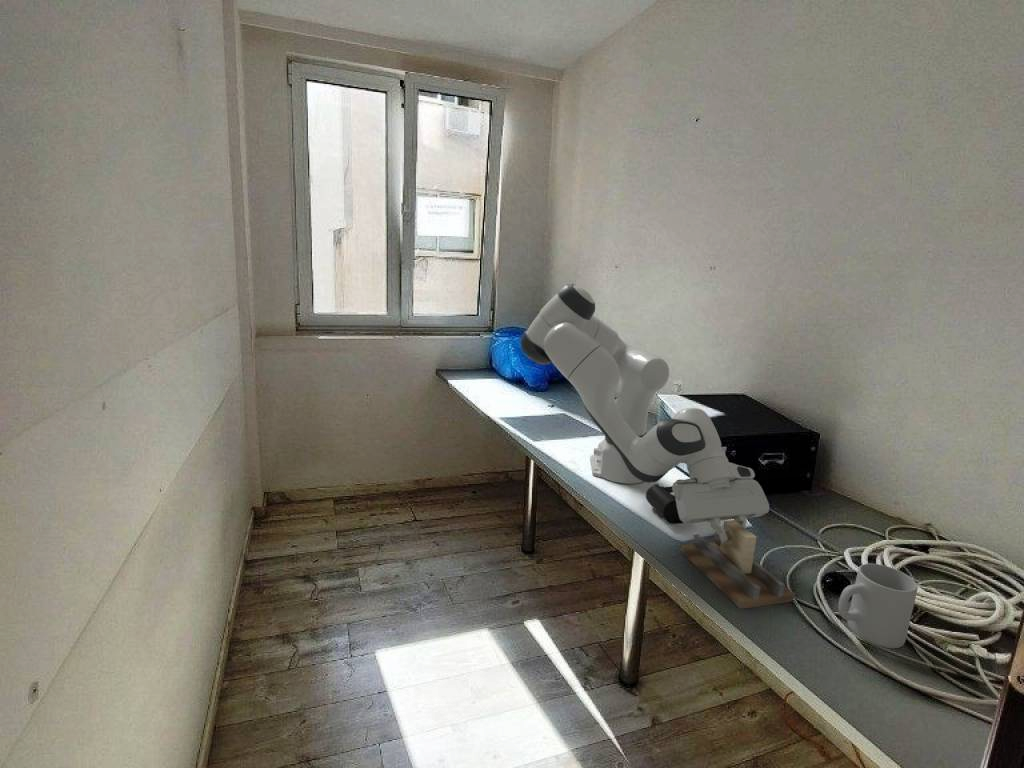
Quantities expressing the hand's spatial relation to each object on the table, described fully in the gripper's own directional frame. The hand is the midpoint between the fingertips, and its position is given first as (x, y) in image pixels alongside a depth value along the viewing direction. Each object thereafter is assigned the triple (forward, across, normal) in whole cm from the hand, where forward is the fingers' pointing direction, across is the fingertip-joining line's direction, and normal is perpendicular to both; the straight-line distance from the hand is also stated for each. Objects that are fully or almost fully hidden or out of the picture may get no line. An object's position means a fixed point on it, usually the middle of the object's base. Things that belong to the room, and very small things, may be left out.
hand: (734, 540), depth 105 cm
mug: (+20, +12, -9) cm, 25 cm away
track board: (+6, 0, +5) cm, 7 cm away
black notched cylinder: (-12, 0, +23) cm, 27 cm away
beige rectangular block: (+4, 0, +3) cm, 5 cm away
